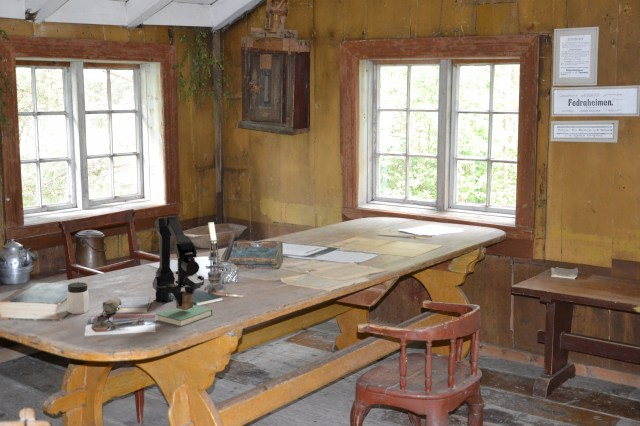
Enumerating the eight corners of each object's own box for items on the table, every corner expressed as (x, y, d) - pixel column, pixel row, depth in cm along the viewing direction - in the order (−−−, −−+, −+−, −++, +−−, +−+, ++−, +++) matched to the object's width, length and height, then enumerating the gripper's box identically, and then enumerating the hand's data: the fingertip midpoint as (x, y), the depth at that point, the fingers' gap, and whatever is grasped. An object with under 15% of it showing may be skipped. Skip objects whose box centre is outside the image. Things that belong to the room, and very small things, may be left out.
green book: (188, 310, 366) (188, 303, 365) (212, 315, 358) (212, 309, 358) (156, 321, 349) (156, 314, 349) (180, 327, 342) (180, 320, 341)
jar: (92, 311, 360) (91, 285, 357) (75, 315, 354) (74, 288, 352) (81, 307, 366) (80, 281, 363) (64, 310, 360) (63, 284, 358)
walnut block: (184, 305, 356) (184, 291, 355) (193, 307, 354) (192, 293, 353) (176, 308, 352) (176, 294, 351) (185, 310, 350) (185, 296, 349)
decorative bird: (125, 309, 364) (124, 293, 363) (110, 320, 349) (109, 303, 348) (113, 308, 365) (113, 292, 364) (98, 319, 350) (97, 302, 348)
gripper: (183, 276, 338) (183, 313, 341) (213, 268, 353) (213, 303, 356) (163, 272, 344) (163, 308, 347) (193, 264, 359) (193, 298, 362)
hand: (184, 304), depth 353 cm, fingers closed on walnut block, 5 cm apart
